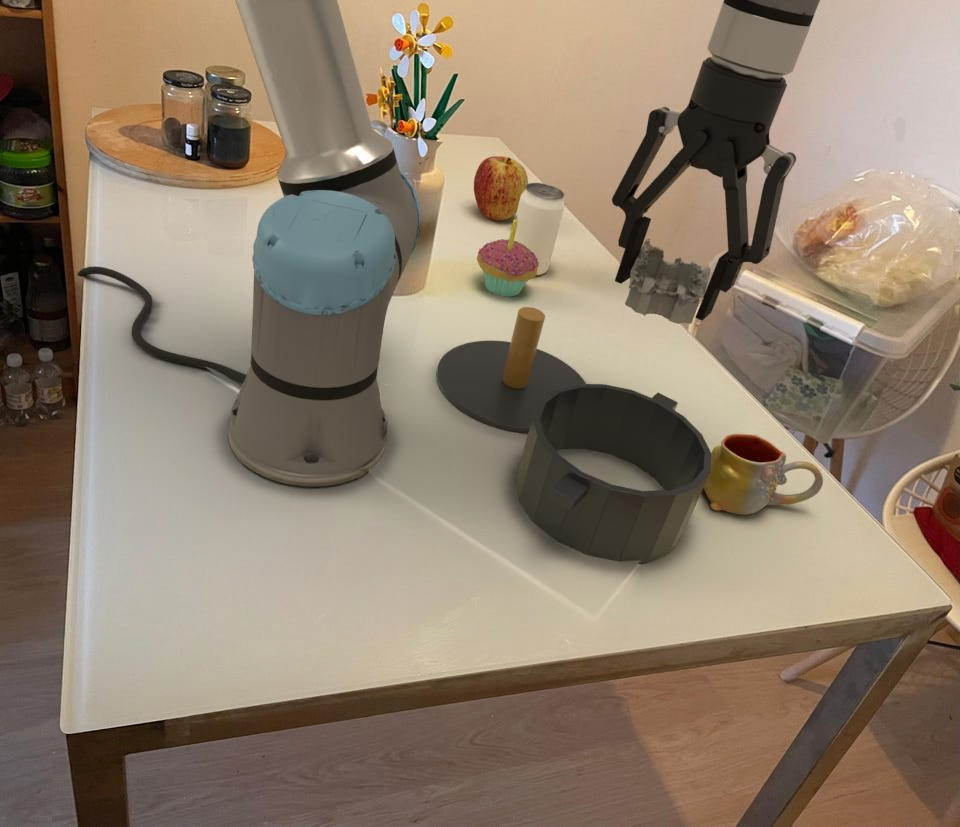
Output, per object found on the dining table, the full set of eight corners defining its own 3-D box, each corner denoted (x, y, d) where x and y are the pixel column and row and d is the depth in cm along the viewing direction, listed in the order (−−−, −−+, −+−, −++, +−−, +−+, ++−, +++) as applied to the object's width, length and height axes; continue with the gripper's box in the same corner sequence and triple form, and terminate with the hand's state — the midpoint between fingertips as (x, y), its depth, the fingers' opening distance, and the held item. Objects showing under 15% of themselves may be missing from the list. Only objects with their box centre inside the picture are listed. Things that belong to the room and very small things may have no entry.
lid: (403, 383, 95) (416, 303, 89) (492, 333, 108) (508, 261, 102) (536, 460, 88) (560, 378, 82) (614, 396, 101) (639, 322, 95)
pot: (465, 512, 79) (482, 441, 74) (579, 419, 95) (599, 356, 91) (623, 611, 72) (653, 540, 68) (716, 493, 89) (746, 429, 84)
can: (535, 281, 123) (554, 203, 116) (497, 264, 125) (514, 187, 118) (555, 268, 127) (574, 193, 121) (518, 253, 130) (536, 178, 123)
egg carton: (634, 270, 91) (645, 235, 89) (702, 291, 90) (715, 256, 87) (616, 308, 82) (628, 270, 80) (691, 332, 81) (705, 294, 79)
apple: (468, 200, 144) (479, 142, 138) (520, 210, 144) (533, 153, 139) (467, 221, 136) (479, 161, 130) (522, 231, 137) (536, 172, 131)
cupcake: (525, 311, 114) (546, 229, 108) (465, 295, 115) (482, 213, 108) (534, 285, 121) (554, 207, 115) (477, 270, 122) (494, 191, 115)
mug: (701, 511, 86) (724, 460, 82) (694, 469, 92) (715, 420, 88) (815, 536, 86) (843, 486, 82) (801, 493, 92) (827, 445, 88)
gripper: (875, 100, 72) (770, 328, 85) (654, 28, 79) (588, 247, 92) (857, 111, 66) (748, 353, 79) (621, 32, 74) (556, 265, 87)
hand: (662, 296), depth 86 cm, fingers closed on egg carton, 8 cm apart
